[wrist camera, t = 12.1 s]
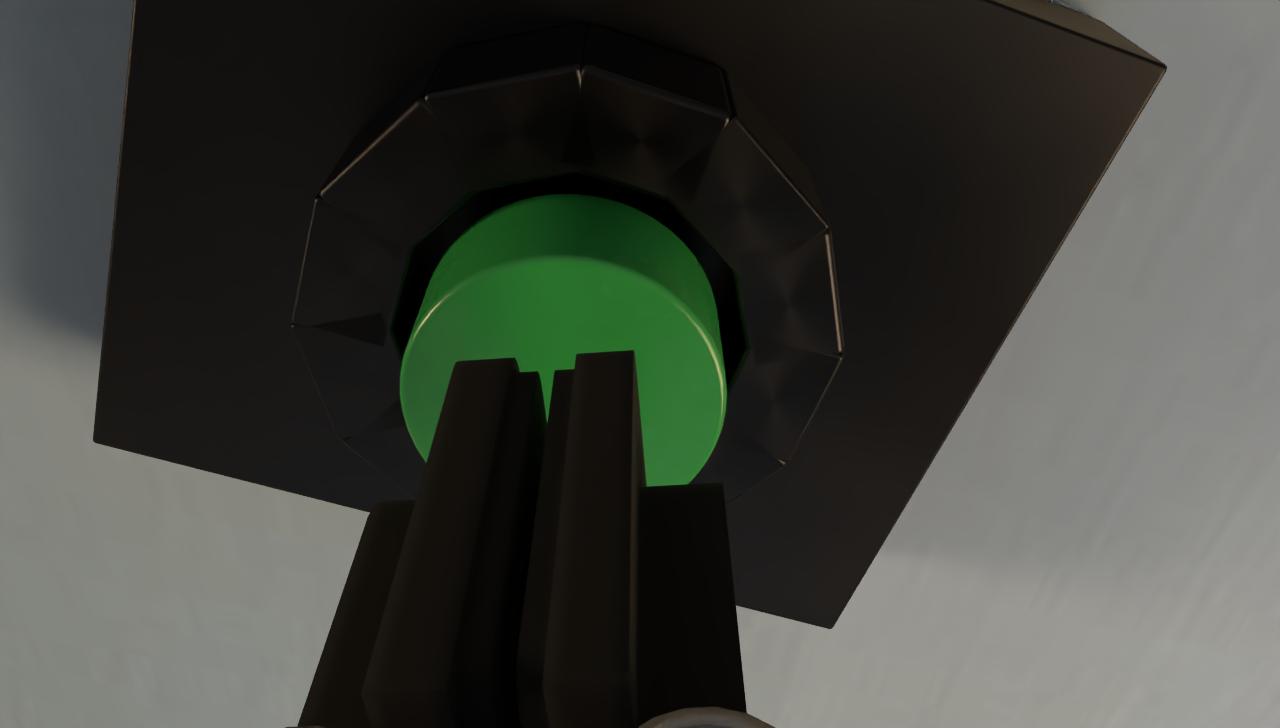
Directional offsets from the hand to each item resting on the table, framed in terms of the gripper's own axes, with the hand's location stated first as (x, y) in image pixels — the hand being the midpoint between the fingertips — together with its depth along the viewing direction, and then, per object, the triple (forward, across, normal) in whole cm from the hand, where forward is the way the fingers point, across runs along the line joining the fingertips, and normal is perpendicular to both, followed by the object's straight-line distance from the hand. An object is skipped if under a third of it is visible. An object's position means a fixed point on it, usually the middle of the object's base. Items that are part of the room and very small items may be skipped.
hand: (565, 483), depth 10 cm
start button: (+3, 0, 0) cm, 3 cm away
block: (+7, 0, 0) cm, 7 cm away
